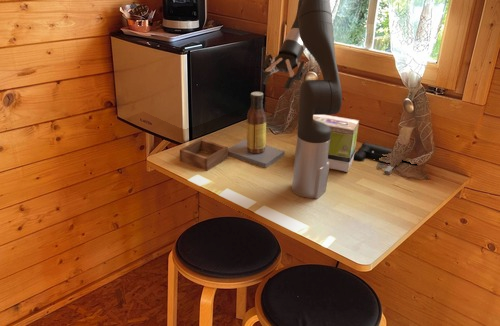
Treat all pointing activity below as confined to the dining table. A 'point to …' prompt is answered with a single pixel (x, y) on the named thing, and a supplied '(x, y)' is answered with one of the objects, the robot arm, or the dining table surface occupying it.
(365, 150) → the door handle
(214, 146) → the box
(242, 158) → the slate board
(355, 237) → the dining table surface
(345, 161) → the tea box
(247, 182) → the dining table surface
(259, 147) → the sauce bottle
